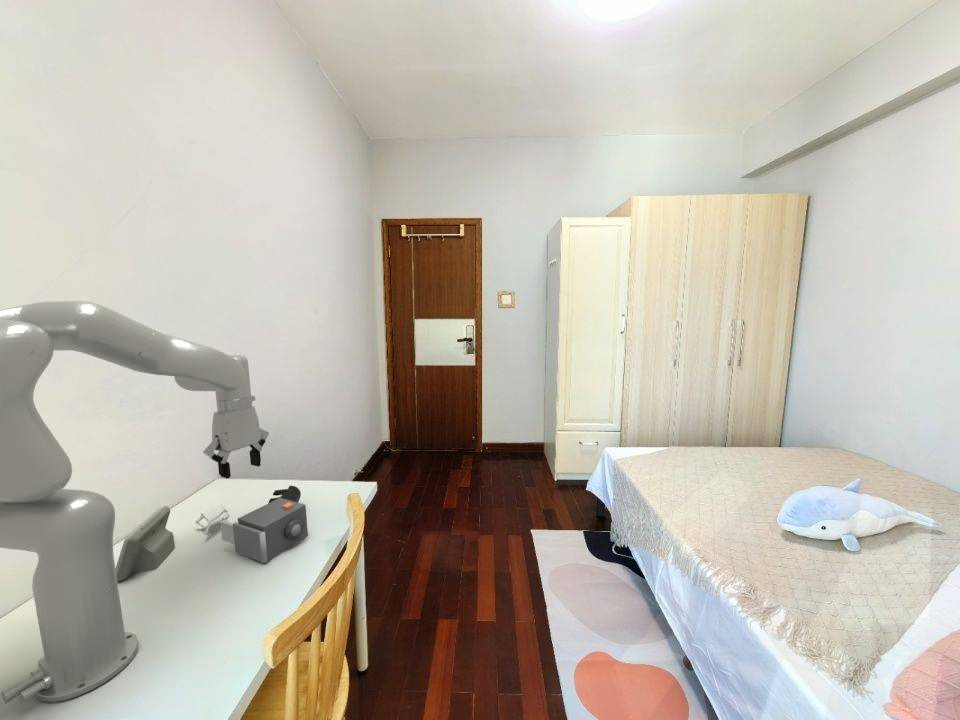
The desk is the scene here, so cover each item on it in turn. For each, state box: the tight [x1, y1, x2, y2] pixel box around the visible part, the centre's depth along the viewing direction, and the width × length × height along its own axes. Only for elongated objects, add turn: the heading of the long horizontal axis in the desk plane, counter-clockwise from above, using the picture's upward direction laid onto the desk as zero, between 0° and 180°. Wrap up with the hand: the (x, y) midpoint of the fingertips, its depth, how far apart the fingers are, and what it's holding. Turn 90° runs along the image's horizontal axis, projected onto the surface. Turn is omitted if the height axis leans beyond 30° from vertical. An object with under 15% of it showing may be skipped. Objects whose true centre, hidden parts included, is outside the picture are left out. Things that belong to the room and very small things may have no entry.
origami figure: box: [194, 503, 230, 540], centre depth 110 cm, size 12×8×5 cm
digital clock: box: [115, 505, 176, 582], centre depth 96 cm, size 16×9×11 cm, turn 2°
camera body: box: [237, 497, 309, 563], centre depth 102 cm, size 12×11×10 cm
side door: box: [220, 519, 269, 564], centre depth 97 cm, size 1×16×8 cm, turn 64°
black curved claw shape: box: [267, 485, 302, 504], centre depth 118 cm, size 10×7×7 cm
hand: (241, 470), depth 101 cm, fingers open, 7 cm apart
